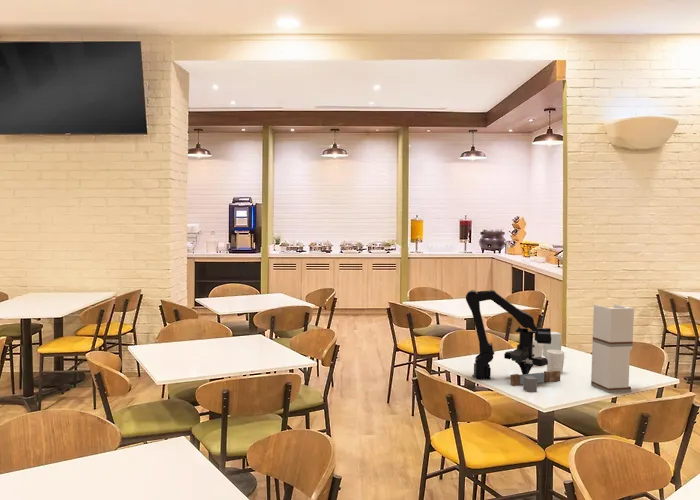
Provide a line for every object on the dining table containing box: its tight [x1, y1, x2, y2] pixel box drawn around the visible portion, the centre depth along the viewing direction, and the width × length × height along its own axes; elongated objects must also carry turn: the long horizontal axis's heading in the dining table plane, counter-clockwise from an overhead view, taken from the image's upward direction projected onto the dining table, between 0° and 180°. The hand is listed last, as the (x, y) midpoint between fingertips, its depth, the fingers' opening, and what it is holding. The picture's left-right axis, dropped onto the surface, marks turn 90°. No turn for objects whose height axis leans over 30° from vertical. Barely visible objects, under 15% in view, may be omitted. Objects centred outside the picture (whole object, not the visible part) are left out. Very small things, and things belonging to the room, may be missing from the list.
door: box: [519, 372, 545, 386], centre depth 248 cm, size 13×2×4 cm, turn 111°
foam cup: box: [527, 337, 544, 368], centre depth 281 cm, size 10×9×13 cm
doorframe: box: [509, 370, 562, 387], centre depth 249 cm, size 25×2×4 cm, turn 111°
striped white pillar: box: [590, 304, 635, 394], centre depth 242 cm, size 11×11×35 cm
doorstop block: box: [522, 376, 538, 393], centre depth 238 cm, size 4×4×6 cm
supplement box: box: [542, 331, 562, 358], centre depth 301 cm, size 7×7×13 cm
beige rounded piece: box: [546, 350, 565, 375], centre depth 268 cm, size 8×8×10 cm
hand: (525, 377), depth 252 cm, fingers closed
